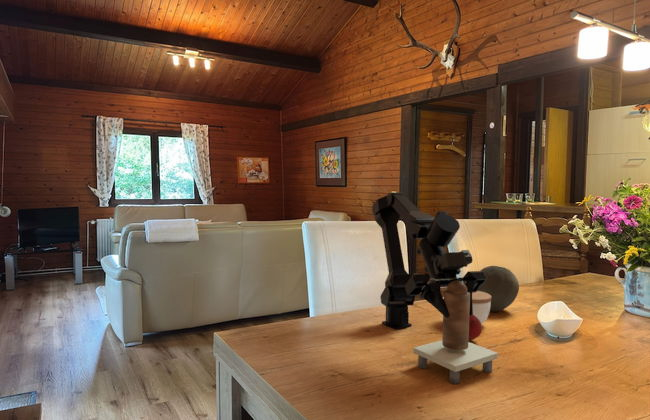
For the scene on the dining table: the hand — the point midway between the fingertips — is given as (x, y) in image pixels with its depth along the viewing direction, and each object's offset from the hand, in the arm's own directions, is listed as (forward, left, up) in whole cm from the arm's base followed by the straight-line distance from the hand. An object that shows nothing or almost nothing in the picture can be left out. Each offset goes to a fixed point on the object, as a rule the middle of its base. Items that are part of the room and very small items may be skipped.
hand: (459, 315), depth 94 cm
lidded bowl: (-21, +30, -13) cm, 39 cm away
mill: (-1, 0, -7) cm, 7 cm away
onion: (-11, +18, -13) cm, 25 cm away
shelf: (-1, 0, -12) cm, 12 cm away
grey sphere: (-26, +50, -13) cm, 58 cm away
